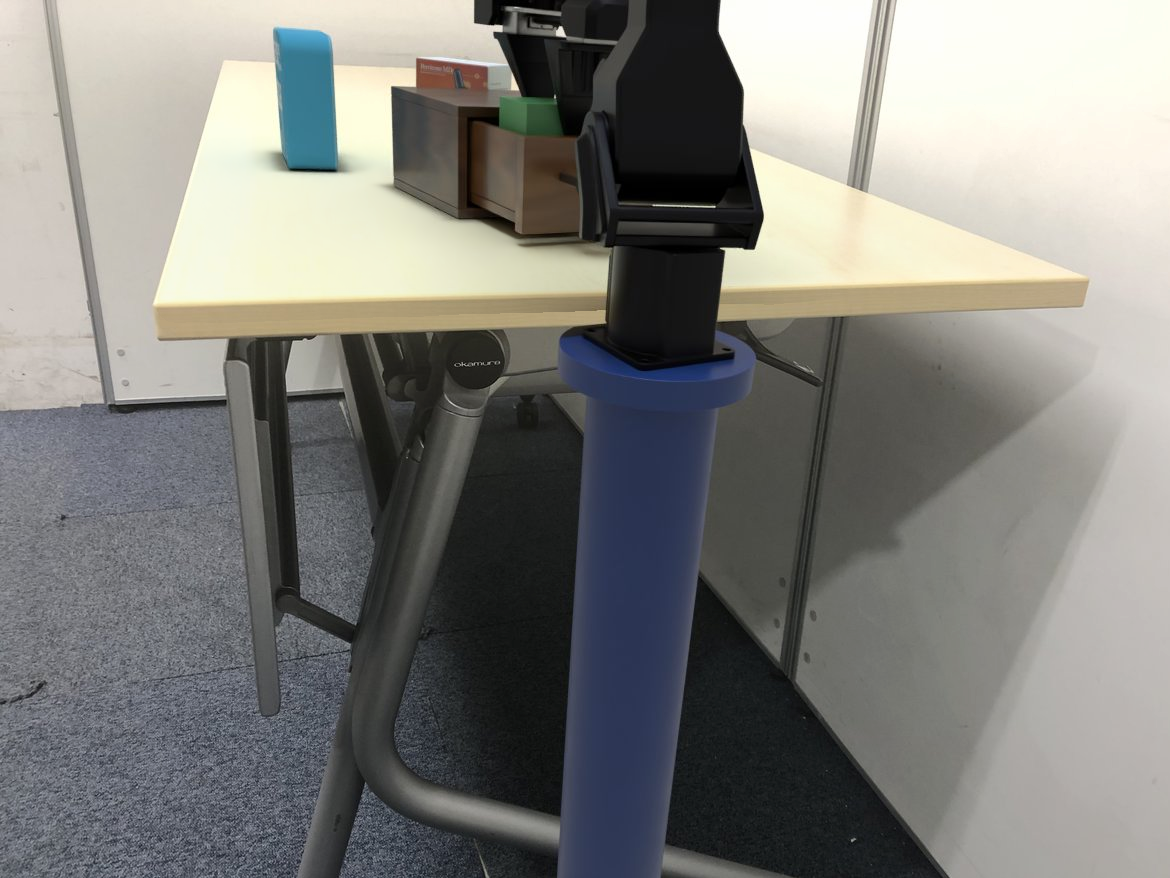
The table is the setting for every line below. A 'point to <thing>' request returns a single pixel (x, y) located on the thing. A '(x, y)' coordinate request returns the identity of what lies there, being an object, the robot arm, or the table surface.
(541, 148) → the drawer
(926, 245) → the table surface
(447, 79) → the small box
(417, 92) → the cabinet
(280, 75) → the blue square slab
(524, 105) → the green block
